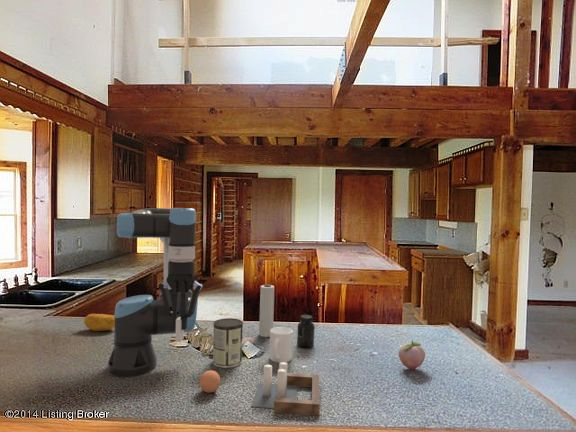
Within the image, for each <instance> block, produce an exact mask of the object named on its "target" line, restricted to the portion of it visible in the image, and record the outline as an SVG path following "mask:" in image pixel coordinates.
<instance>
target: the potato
mask: <svg viewBox="0 0 576 432" xmlns="http://www.w3.org/2000/svg"><path fill="white" fill-rule="evenodd" d="M114 315H115V314H106V313H105V314H104V313H89V314H88V315H86V316H85V317H84V319H83V322H84V325H85V327H86V328H87V329H89V330H91V331H95V332H103V331H110V330H112V329H115V318H114Z"/></svg>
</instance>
